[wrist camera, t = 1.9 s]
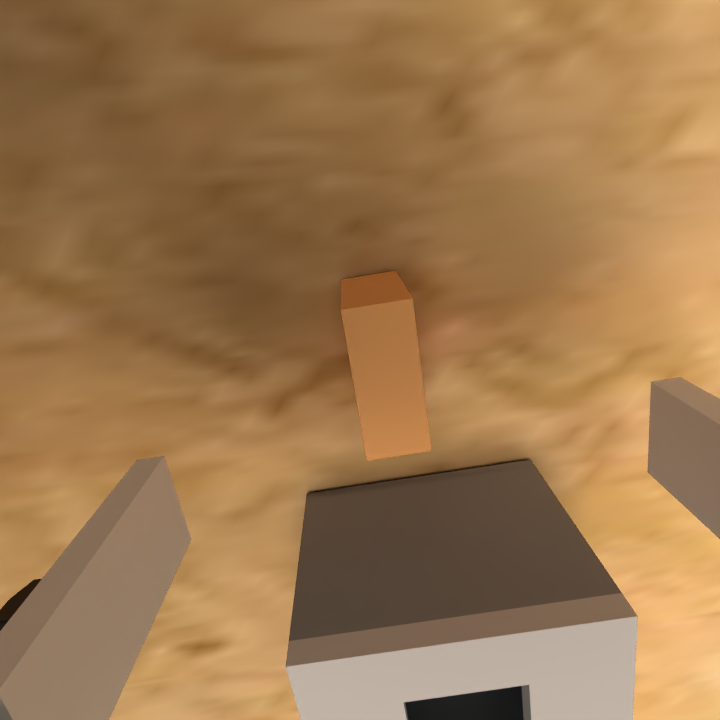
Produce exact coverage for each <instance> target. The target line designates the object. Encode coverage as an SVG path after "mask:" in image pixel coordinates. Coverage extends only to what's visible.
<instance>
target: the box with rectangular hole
mask: <svg viewBox="0 0 720 720" xmlns="http://www.w3.org/2000/svg"><path fill="white" fill-rule="evenodd" d="M637 620H638V616H637V615H636V613H635V612H634V610H633V609H632V607H631V606H630V604H629V603H628V601H627V600H626V598H625V597H624V596H623V594H622V593H621V591H620V590H619V588H618V587H617V585H616V584H615V582H614V581H613V579H612V578H611V577H610V575H609V574H608V572H607V571H606V569H605V568H604V566H603V565H602V563H601V562H600V560H599V559H598V557H597V556H596V555H595V553H594V552H593V550H592V549H591V547H590V546H589V544H588V543H587V541H586V540H585V538H584V537H583V536H582V534H581V533H580V531H579V530H578V528H577V527H576V525H575V524H574V522H573V521H572V519H571V518H570V517H569V515H568V514H567V512H566V511H565V509H564V508H563V506H562V505H561V503H560V502H559V500H558V499H557V498H556V496H555V495H554V493H553V492H552V490H551V489H550V487H549V486H548V484H547V483H546V481H545V480H544V479H543V477H542V476H541V474H540V473H539V471H538V470H537V468H536V467H535V465H534V464H533V462H532V461H531V460H525V461H518V462H512V463H505V464H499V465H492V466H486V467H479V468H472V469H466V470H459V471H453V472H446V473H440V474H433V475H426V476H420V477H413V478H407V479H400V480H393V481H387V482H380V483H374V484H367V485H361V486H354V487H347V488H341V489H334V490H328V491H321V492H314V493H308V494H307V497H306V505H305V513H304V521H303V530H302V538H301V546H300V554H299V562H298V570H297V579H296V587H295V595H294V603H293V611H292V619H291V628H290V636H289V644H288V652H287V660H286V670H287V673H288V677H289V680H290V684H291V687H292V691H293V694H294V698H295V701H296V705H297V708H298V712H299V715H300V719H301V720H633V708H634V686H635V664H636V642H637Z"/></svg>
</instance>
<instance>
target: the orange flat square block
mask: <svg viewBox="0 0 720 720" xmlns="http://www.w3.org/2000/svg"><path fill="white" fill-rule="evenodd" d="M341 315H342V320H343V326H344V332H345V338H346V343H347V349H348V355H349V361H350V366H351V372H352V378H353V384H354V389H355V395H356V401H357V407H358V412H359V418H360V424H361V430H362V435H363V441H364V447H365V453H366V458H367V461H369V460H375V459H382V458H388V457H395V456H402V455H408V454H415V453H421V452H428V451H431V443H430V435H429V427H428V419H427V410H426V402H425V394H424V386H423V378H422V369H421V361H420V353H419V345H418V337H417V328H416V320H415V312H414V304H413V298H412V296H411V295H410V293H409V291H408V290H407V288H406V287H405V285H404V283H403V282H402V280H401V278H400V277H399V275H398V274H397V272H396V271H390V272H383V273H377V274H371V275H365V276H359V277H353V278H346V279H342V285H341Z"/></svg>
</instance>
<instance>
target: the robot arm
mask: <svg viewBox="0 0 720 720" xmlns="http://www.w3.org/2000/svg"><path fill="white" fill-rule="evenodd" d="M648 473H649V474H650V475H651V476H652V477H654V478H655V479H656V480H657V481H658V482H659V483H660V484H661V485H662V486H663V487H664V488H665V489H666V490H668V491H669V492H670V493H671V494H672V495H673V496H674V497H675V498H676V499H677V500H678V501H679V502H681V503H682V504H683V505H684V506H685V507H686V508H687V509H688V510H689V511H690V512H691V513H692V514H693V515H695V516H696V517H697V518H698V519H699V520H700V521H701V522H702V523H703V524H704V525H705V526H706V527H707V528H709V529H710V530H711V531H712V532H713V533H714V534H715V535H716V536H717V537H718V538H719V539H720V399H719V398H717V397H715V396H713V395H712V394H710V393H708V392H706V391H704V390H703V389H701V388H699V387H697V386H695V385H693V384H692V383H690V382H688V381H686V380H684V379H683V378H681V377H679V378H673V379H666V380H660V381H653V382H651V398H650V424H649V450H648ZM190 541H191V537H190V534H189V530H188V527H187V524H186V521H185V518H184V515H183V512H182V509H181V506H180V503H179V500H178V497H177V494H176V490H175V487H174V484H173V481H172V478H171V475H170V472H169V469H168V466H167V463H166V460H165V457H164V456H160V457H154V458H147V459H141V460H136V462H135V463H134V464H133V465H132V467H131V468H130V469H129V470H128V472H127V473H126V474H125V475H124V477H123V478H122V479H121V480H120V482H119V483H118V484H117V485H116V487H115V488H114V489H113V490H112V492H111V493H110V494H109V495H108V497H107V498H106V499H105V500H104V502H103V503H102V504H101V506H100V507H99V508H98V509H97V511H96V512H95V513H94V514H93V516H92V517H91V518H90V519H89V521H88V522H87V523H86V524H85V526H84V527H83V528H82V529H81V531H80V532H79V533H78V534H77V536H76V537H75V538H74V539H73V541H72V542H71V543H70V544H69V546H68V547H67V548H66V549H65V551H64V552H63V553H62V554H61V556H60V557H59V558H58V559H57V561H56V562H55V563H54V564H53V566H52V567H51V568H50V569H49V571H48V572H47V573H46V574H45V576H44V577H43V578H42V579H37V580H33V581H32V582H31V583H29V584H28V585H27V586H26V587H24V588H23V589H22V590H21V591H19V592H18V593H17V594H16V595H14V596H13V597H12V598H11V599H9V600H8V601H7V603H6V604H5V605H4V606H3V607H2V608H1V610H0V720H109V718H110V716H111V714H112V712H113V710H114V707H115V705H116V703H117V701H118V699H119V697H120V694H121V692H122V690H123V688H124V686H125V683H126V681H127V679H128V677H129V675H130V672H131V670H132V668H133V666H134V664H135V661H136V659H137V657H138V655H139V653H140V650H141V648H142V646H143V644H144V642H145V640H146V637H147V635H148V633H149V631H150V629H151V626H152V624H153V622H154V620H155V618H156V615H157V613H158V611H159V609H160V607H161V604H162V602H163V600H164V598H165V596H166V593H167V591H168V589H169V587H170V585H171V583H172V580H173V578H174V576H175V574H176V572H177V569H178V567H179V565H180V563H181V561H182V558H183V556H184V554H185V552H186V550H187V547H188V545H189V543H190Z"/></svg>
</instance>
